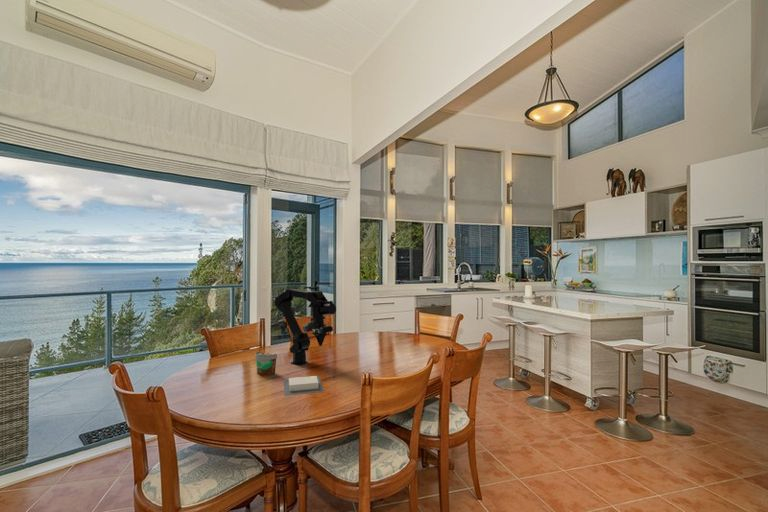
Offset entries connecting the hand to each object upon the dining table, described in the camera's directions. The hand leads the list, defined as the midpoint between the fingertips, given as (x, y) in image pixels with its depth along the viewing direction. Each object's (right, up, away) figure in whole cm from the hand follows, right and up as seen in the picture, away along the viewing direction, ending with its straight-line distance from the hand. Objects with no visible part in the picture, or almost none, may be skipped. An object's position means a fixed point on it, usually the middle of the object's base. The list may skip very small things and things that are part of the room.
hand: (320, 345), depth 179 cm
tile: (-3, -9, -24) cm, 26 cm away
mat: (-3, -11, -27) cm, 29 cm away
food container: (-26, -11, -12) cm, 30 cm away
